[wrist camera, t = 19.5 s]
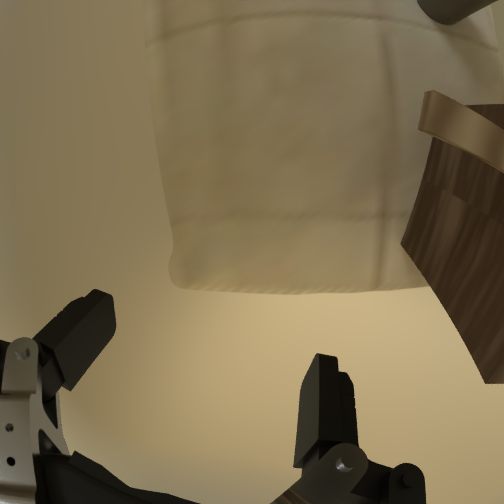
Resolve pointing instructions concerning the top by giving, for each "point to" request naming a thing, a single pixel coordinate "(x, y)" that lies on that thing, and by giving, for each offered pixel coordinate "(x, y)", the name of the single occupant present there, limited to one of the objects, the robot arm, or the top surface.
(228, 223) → the top surface
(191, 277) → the top surface
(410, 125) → the top surface
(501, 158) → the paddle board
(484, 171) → the two-tone wooden block
